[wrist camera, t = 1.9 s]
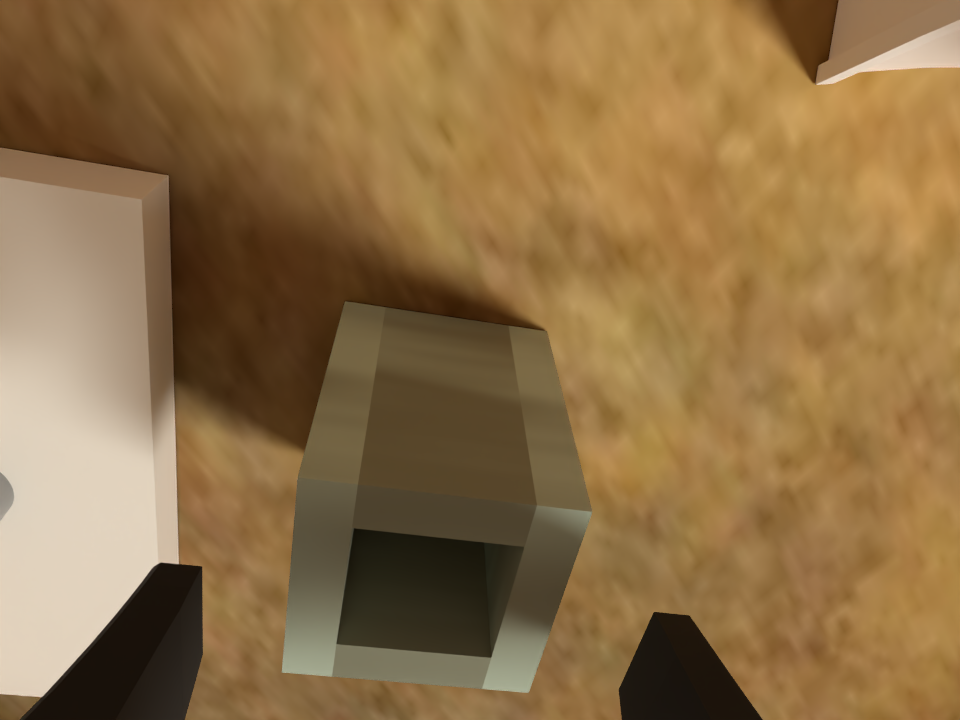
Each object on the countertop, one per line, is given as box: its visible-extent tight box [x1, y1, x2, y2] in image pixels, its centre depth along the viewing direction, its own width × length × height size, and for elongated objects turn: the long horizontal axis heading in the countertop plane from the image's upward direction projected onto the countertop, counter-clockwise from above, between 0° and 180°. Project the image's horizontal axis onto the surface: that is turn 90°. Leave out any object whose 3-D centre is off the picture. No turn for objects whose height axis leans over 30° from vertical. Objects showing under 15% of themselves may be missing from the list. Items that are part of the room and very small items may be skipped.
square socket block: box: [282, 301, 592, 693], centre depth 15 cm, size 5×5×6 cm
